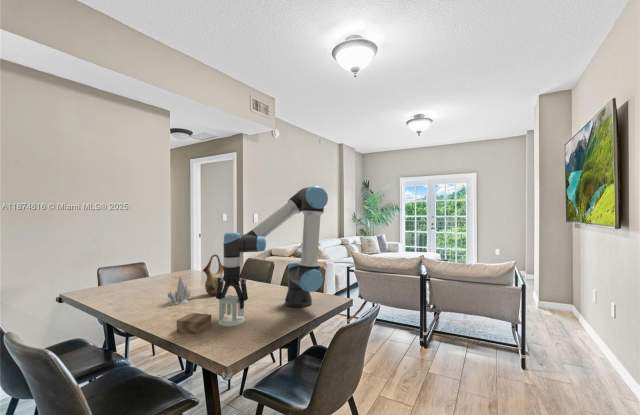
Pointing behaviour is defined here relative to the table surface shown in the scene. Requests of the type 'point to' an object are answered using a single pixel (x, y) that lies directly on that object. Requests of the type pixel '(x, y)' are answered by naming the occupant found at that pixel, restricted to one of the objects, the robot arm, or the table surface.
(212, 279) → the ceramic vessel
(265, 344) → the table surface
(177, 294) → the crystal
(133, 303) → the table surface
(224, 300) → the stool
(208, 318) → the walnut box
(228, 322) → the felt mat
